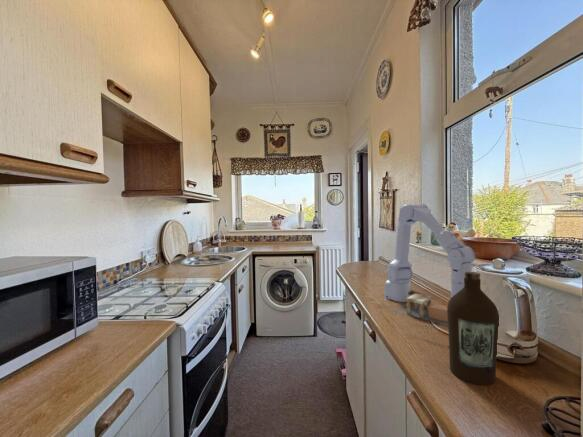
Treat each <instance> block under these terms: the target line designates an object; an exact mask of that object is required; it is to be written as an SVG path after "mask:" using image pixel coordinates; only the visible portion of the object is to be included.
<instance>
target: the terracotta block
mask: <svg viewBox="0 0 583 437" xmlns="http://www.w3.org/2000/svg"><path fill="white" fill-rule="evenodd" d="M447 307H448V306H445V305H441V304H436V303H431V305H429V306H428V317H430V318H434V319H438V320H442V321H446V322H448V316H447Z"/></svg>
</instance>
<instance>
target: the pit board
mask: <svg viewBox="0 0 583 437" xmlns="http://www.w3.org/2000/svg"><path fill="white" fill-rule="evenodd" d="M403 307H406V304H402V305H401V306H399V307H397V308H396V309H394V310H393V312H395V313H398V314H402V315H407V316H409V317H414V318H418V319H421V320H426V321H429V322H432V323H437V324H441V325H444V326H448V322H446V321H442V320H438V319H434V318H430V317H428V312H427V309H424V318H421V317H420V307H418V309H414V306H411V314H410V315H409V314H406V312H401V311H398V310H399V309H400V310H403V311H406V308H403Z"/></svg>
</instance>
